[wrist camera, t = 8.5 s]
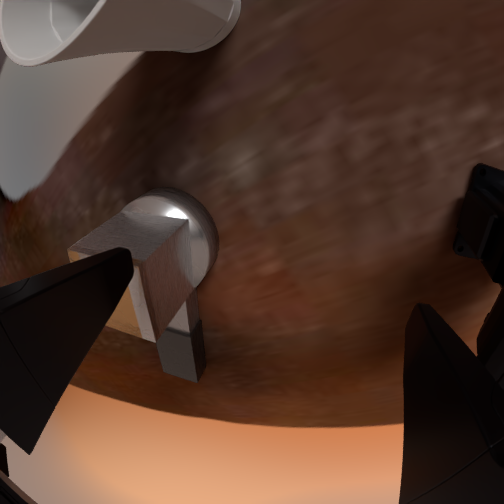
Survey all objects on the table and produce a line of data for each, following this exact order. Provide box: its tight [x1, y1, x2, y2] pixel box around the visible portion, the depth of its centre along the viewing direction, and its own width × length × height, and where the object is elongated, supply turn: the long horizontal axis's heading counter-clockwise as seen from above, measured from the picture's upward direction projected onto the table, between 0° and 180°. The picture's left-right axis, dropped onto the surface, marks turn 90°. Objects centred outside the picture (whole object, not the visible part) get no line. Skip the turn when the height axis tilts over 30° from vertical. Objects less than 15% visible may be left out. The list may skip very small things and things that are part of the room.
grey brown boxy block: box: [67, 211, 195, 343], centre depth 19 cm, size 6×6×6 cm
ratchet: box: [121, 187, 219, 383], centre depth 24 cm, size 20×8×6 cm, turn 178°
